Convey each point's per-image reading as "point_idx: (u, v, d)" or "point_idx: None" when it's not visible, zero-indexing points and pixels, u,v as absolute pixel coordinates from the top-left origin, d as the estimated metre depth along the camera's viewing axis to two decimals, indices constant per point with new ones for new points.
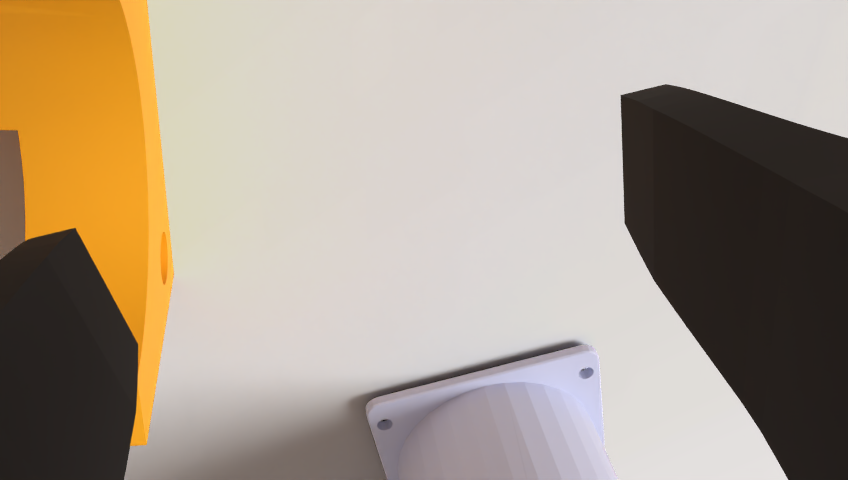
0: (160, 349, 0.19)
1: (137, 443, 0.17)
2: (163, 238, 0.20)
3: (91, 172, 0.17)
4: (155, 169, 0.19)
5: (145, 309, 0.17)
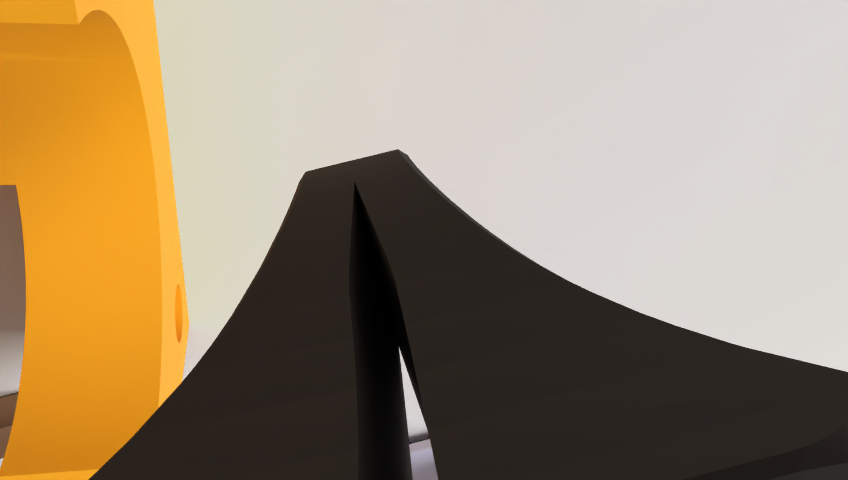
0: None
1: None
2: (177, 290, 0.19)
3: (98, 229, 0.16)
4: (168, 220, 0.17)
5: (159, 380, 0.15)
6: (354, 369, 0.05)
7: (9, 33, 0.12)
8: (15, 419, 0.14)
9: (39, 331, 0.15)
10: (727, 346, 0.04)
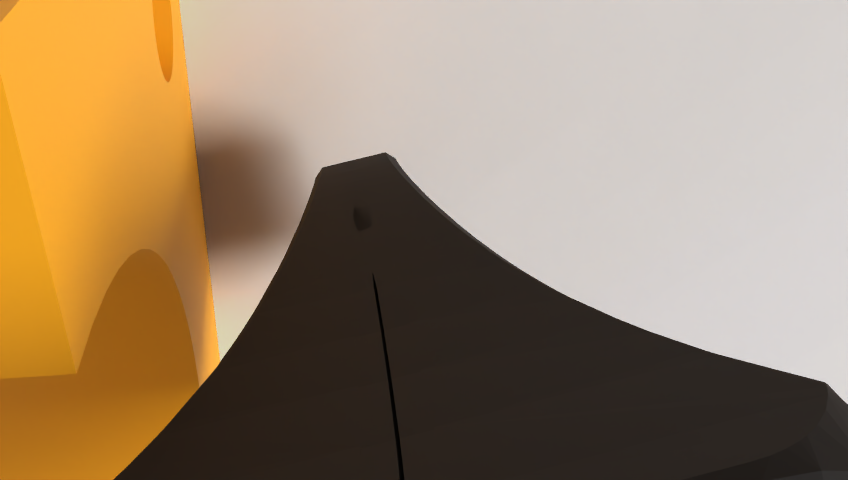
0: None
1: None
2: None
3: None
4: None
5: None
6: (384, 361, 0.05)
7: None
8: None
9: None
10: (700, 353, 0.04)
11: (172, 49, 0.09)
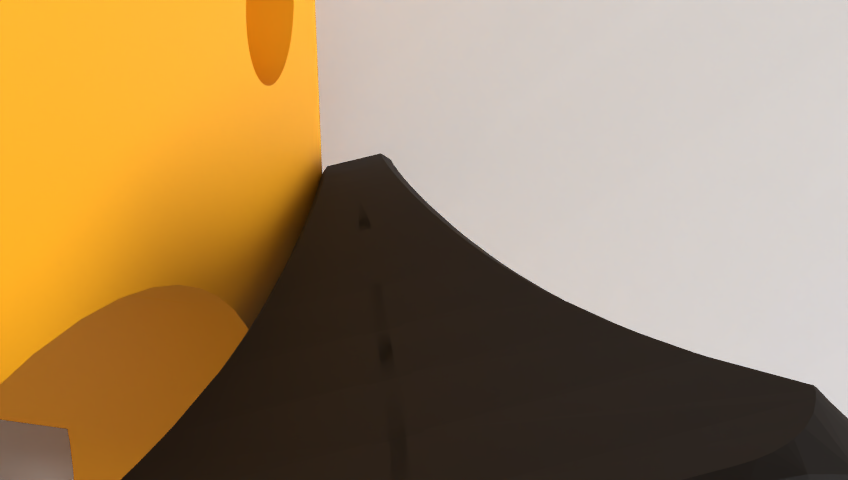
0: None
1: None
2: None
3: None
4: None
5: None
6: (393, 359, 0.05)
7: None
8: None
9: None
10: (690, 355, 0.04)
11: (288, 48, 0.08)
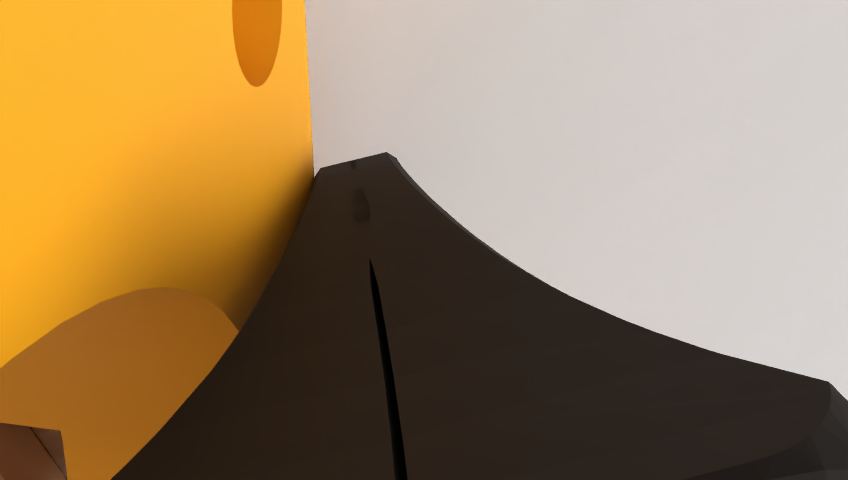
0: None
1: None
2: None
3: None
4: None
5: None
6: (381, 362, 0.05)
7: None
8: None
9: None
10: (702, 352, 0.04)
11: (277, 49, 0.08)
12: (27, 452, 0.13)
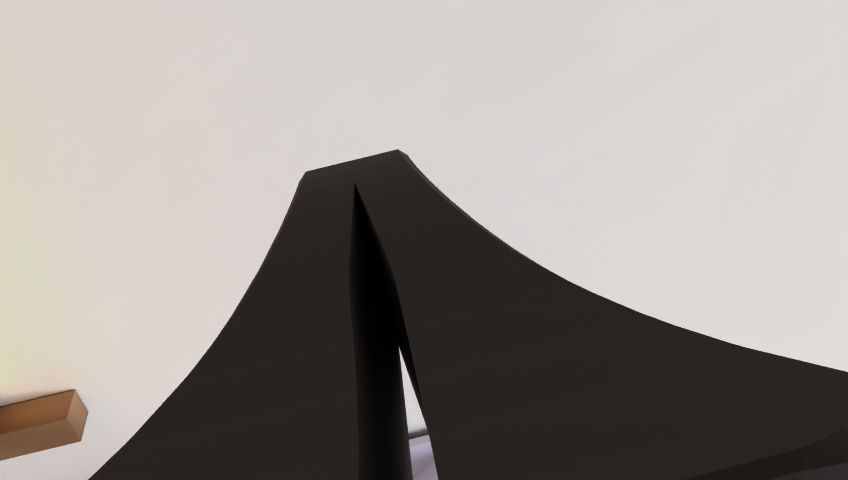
0: None
1: None
2: None
3: None
4: None
5: None
6: (354, 369, 0.05)
7: None
8: None
9: None
10: (727, 346, 0.04)
11: None
12: None
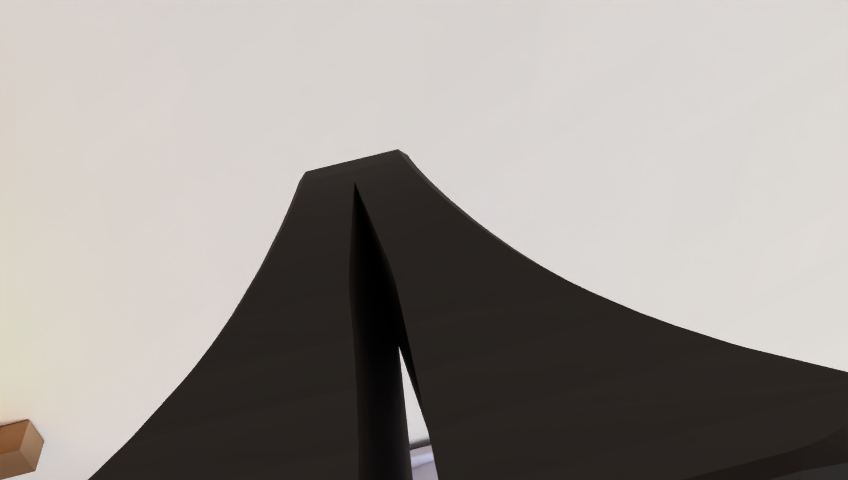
0: None
1: None
2: None
3: None
4: None
5: None
6: (354, 369, 0.05)
7: None
8: None
9: None
10: (726, 346, 0.04)
11: None
12: None
